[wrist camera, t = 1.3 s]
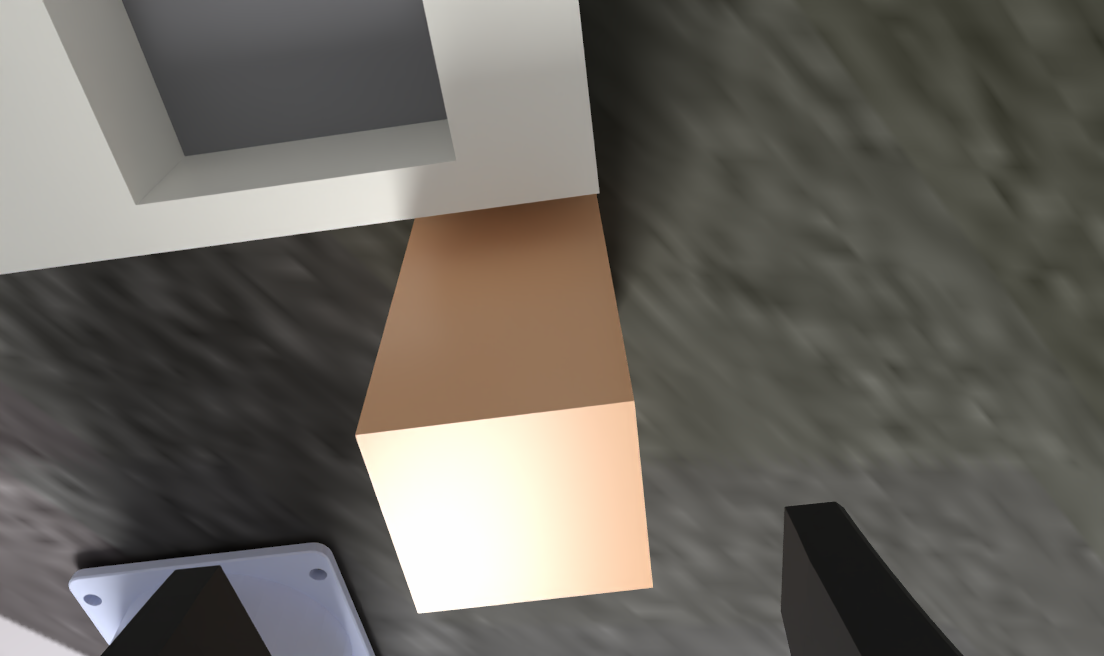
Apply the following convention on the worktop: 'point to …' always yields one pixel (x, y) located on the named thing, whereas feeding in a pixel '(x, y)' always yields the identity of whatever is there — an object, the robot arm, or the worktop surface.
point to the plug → (507, 412)
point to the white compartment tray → (277, 118)
